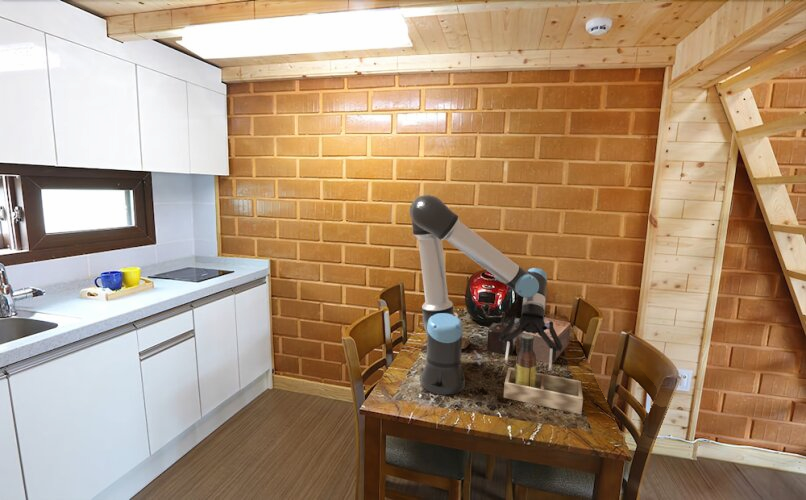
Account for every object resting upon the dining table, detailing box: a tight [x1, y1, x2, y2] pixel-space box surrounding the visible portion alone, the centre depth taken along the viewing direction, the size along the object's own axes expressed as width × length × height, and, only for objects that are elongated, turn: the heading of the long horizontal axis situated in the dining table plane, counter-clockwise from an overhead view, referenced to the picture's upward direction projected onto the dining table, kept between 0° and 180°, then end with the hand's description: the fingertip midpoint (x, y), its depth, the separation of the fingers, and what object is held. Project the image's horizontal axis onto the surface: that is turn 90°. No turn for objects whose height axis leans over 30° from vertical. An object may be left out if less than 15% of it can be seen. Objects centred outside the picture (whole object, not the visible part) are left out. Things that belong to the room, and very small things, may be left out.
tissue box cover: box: [515, 316, 572, 364], centre depth 161 cm, size 26×14×10 cm, turn 142°
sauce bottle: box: [515, 334, 537, 388], centre depth 124 cm, size 7×6×20 cm
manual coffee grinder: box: [481, 302, 517, 356], centre depth 160 cm, size 16×11×18 cm
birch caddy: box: [503, 367, 584, 415], centre depth 123 cm, size 23×12×5 cm, turn 68°
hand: (527, 365), depth 122 cm, fingers open, 13 cm apart
